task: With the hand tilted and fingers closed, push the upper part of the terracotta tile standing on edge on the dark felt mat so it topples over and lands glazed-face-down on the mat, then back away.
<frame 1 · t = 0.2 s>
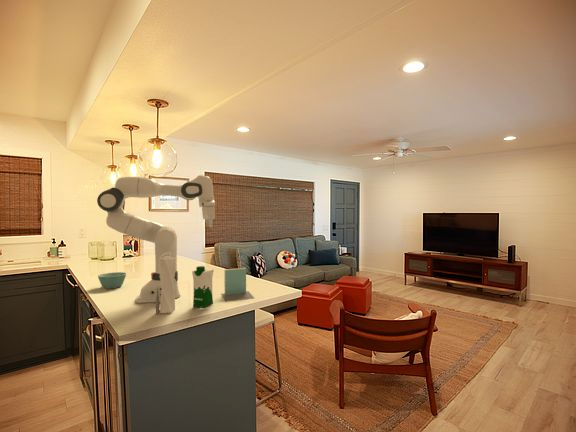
hand: (209, 227, 175), 39 cm above the worktop, tool pointing down, fingers open, 8 cm apart
tile: (235, 293, 172), point 1 cm above the worktop, touching mat
skyscraper: (167, 312, 143), on the worktop
bowl: (112, 287, 190), on the worktop
mat: (237, 297, 167), on the worktop
milk carton: (203, 306, 152), on the worktop
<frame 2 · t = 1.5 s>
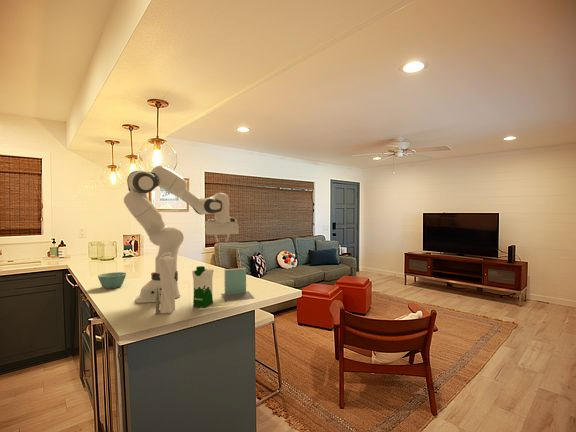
hand: (222, 241, 185), 29 cm above the worktop, tool pointing down, fingers open, 4 cm apart
nothing on the worktop moved.
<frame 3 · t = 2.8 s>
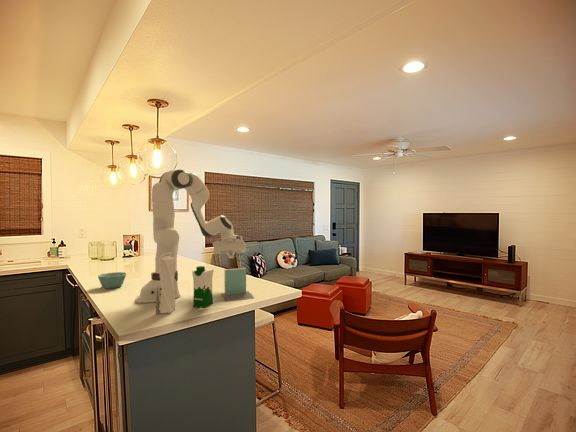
hand: (231, 257, 184), 19 cm above the worktop, tool tilted 45°, fingers closed
nothing on the worktop moved.
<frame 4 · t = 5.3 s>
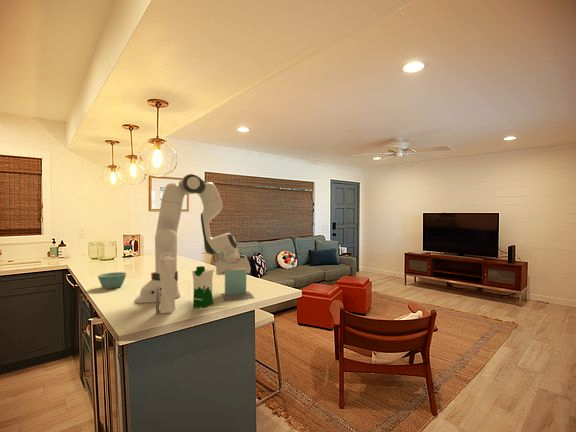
hand: (234, 279, 173), 8 cm above the worktop, tool tilted 45°, fingers closed
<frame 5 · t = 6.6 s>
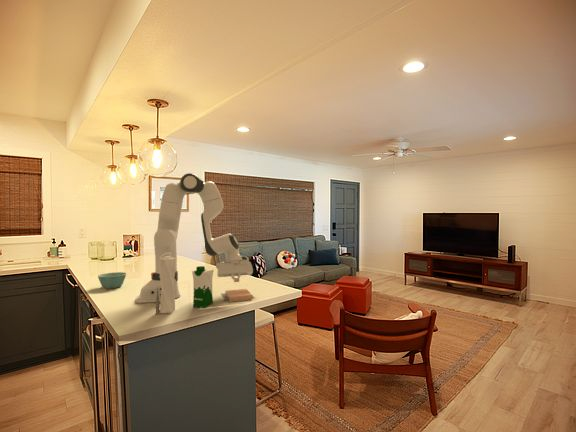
hand: (236, 281, 168), 8 cm above the worktop, tool tilted 45°, fingers closed
tile: (235, 291, 171), point 2 cm above the worktop, tilted 90°, touching mat
everything else where it was.
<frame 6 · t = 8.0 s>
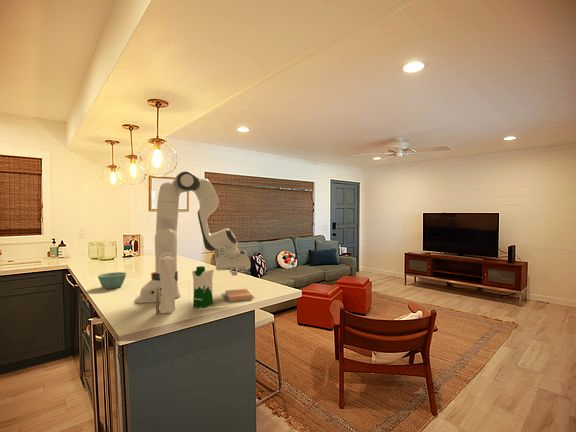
hand: (234, 274, 172), 11 cm above the worktop, tool tilted 45°, fingers closed
nothing on the worktop moved.
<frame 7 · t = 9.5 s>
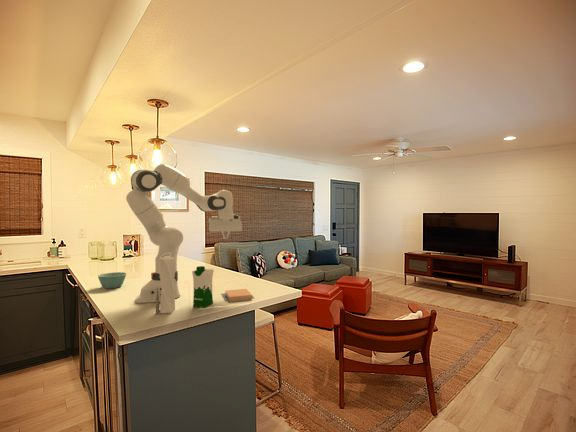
hand: (225, 238, 186), 31 cm above the worktop, tool pointing down, fingers closed
nothing on the worktop moved.
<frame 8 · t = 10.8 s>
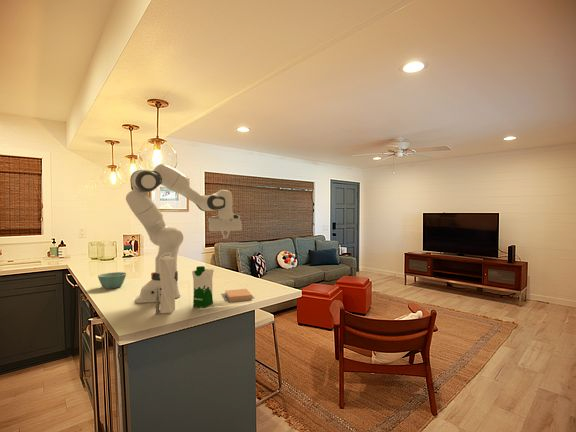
hand: (225, 238, 186), 31 cm above the worktop, tool pointing down, fingers closed
nothing on the worktop moved.
at the end: tile tilted 90°; tile inside the target area (5.5 cm from its centre), point 1.8 cm above the worktop; the gripper is holding nothing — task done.
